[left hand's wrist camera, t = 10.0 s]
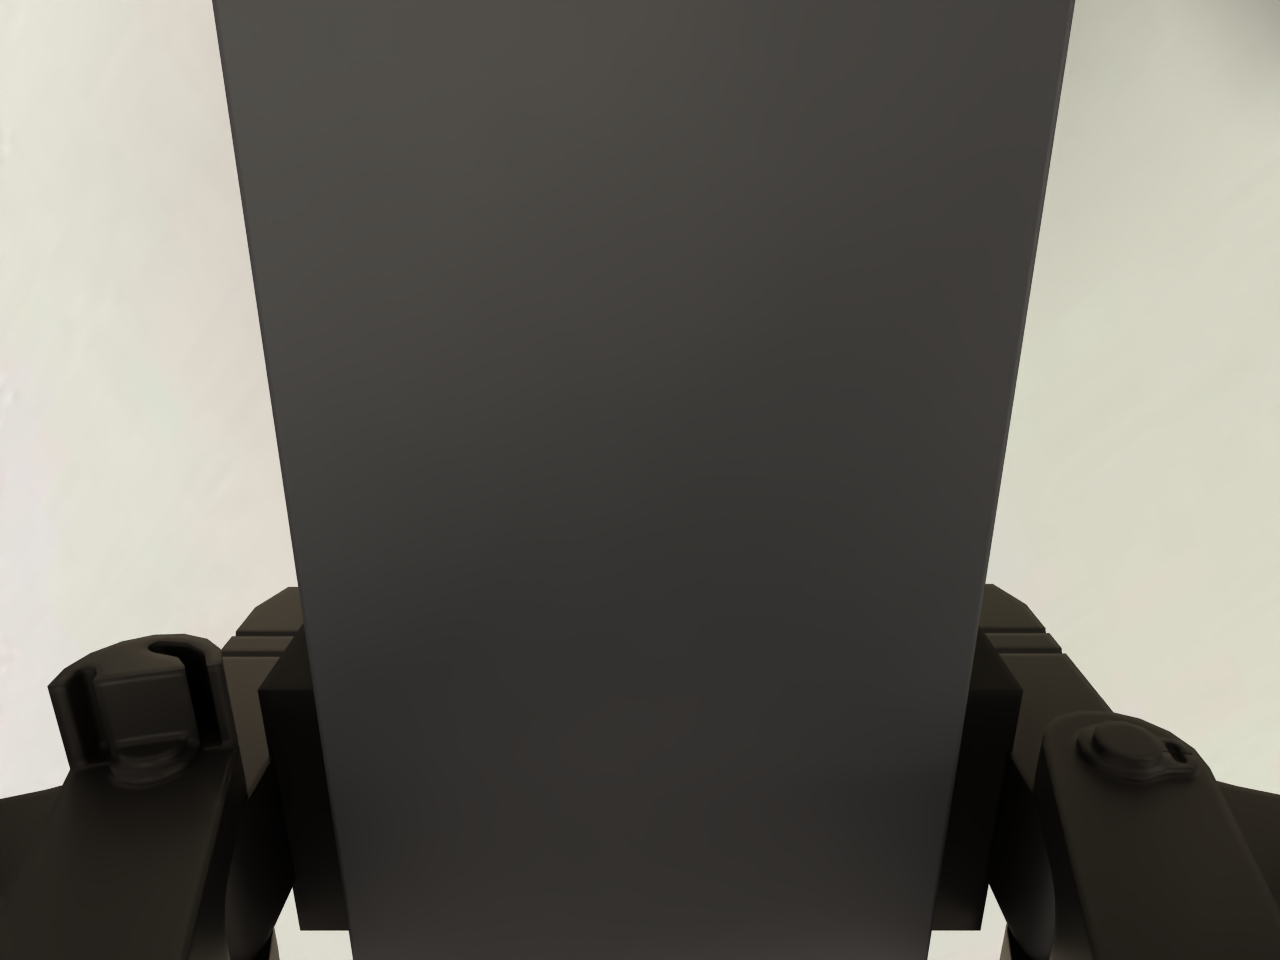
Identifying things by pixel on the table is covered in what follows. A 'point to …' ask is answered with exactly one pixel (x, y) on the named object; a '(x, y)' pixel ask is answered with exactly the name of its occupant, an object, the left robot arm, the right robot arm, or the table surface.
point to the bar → (642, 447)
